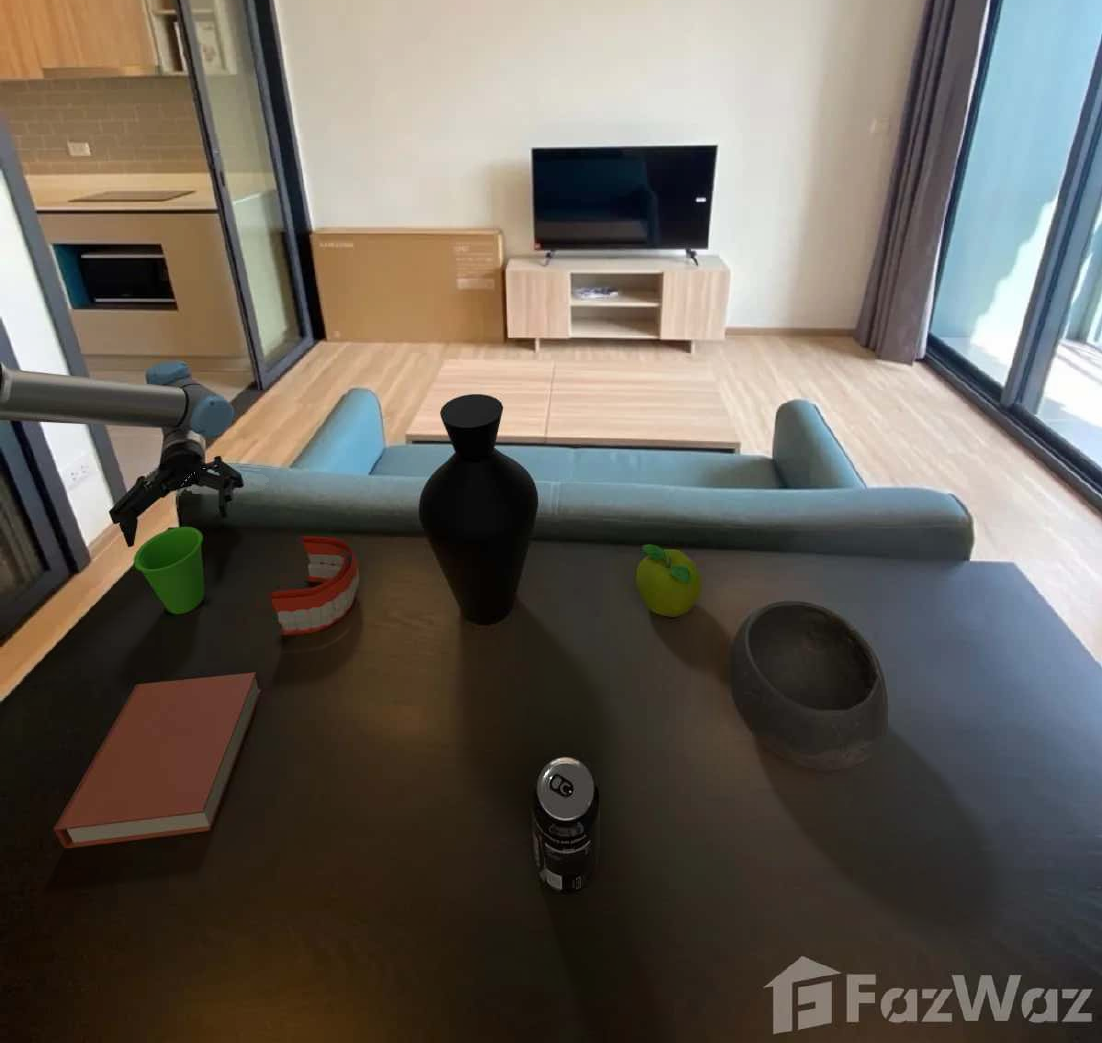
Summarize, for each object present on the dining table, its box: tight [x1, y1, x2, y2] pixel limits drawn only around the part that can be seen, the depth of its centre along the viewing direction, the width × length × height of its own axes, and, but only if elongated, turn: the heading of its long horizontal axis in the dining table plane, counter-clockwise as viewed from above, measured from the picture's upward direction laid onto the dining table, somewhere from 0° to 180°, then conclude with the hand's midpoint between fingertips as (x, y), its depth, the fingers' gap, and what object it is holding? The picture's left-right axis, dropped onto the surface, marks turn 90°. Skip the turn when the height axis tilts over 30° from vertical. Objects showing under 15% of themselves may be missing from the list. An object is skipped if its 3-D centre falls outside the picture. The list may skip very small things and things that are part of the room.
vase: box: [418, 393, 539, 626], centre depth 86 cm, size 17×17×35 cm
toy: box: [269, 535, 360, 636], centre depth 91 cm, size 12×10×8 cm
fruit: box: [635, 543, 702, 618], centre depth 89 cm, size 9×9×10 cm
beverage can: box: [530, 756, 601, 895], centre depth 60 cm, size 7×7×12 cm
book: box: [53, 671, 262, 850], centre depth 71 cm, size 15×16×4 cm
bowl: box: [727, 600, 889, 771], centre depth 73 cm, size 18×18×13 cm
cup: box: [133, 526, 206, 615], centre depth 92 cm, size 9×9×11 cm
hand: (177, 525), depth 98 cm, fingers open, 13 cm apart
